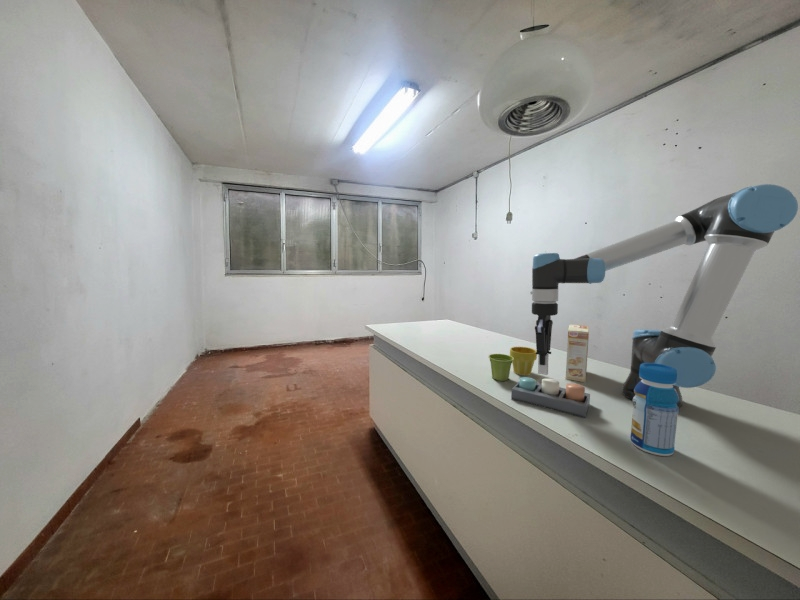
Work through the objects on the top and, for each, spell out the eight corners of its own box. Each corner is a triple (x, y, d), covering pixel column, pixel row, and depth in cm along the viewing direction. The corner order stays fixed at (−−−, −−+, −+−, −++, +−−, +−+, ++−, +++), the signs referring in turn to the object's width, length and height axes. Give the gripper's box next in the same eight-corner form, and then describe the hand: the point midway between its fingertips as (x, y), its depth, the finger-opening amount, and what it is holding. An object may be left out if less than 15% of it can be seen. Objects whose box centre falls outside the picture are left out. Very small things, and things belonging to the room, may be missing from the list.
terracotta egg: (585, 399, 93) (585, 385, 93) (582, 405, 89) (583, 390, 89) (566, 395, 96) (567, 382, 96) (564, 400, 92) (564, 386, 92)
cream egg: (560, 393, 97) (560, 380, 97) (556, 399, 93) (557, 385, 93) (543, 389, 100) (543, 377, 100) (539, 394, 97) (540, 381, 96)
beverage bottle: (662, 461, 67) (670, 375, 65) (621, 441, 75) (627, 364, 73) (682, 452, 70) (690, 369, 68) (641, 434, 78) (647, 359, 76)
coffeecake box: (586, 382, 113) (589, 332, 111) (564, 379, 117) (567, 330, 115) (586, 371, 126) (589, 325, 124) (566, 368, 129) (569, 323, 127)
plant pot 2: (540, 377, 119) (541, 353, 118) (514, 377, 119) (515, 353, 118) (529, 368, 130) (530, 346, 128) (505, 368, 130) (506, 346, 129)
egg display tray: (589, 404, 95) (590, 393, 95) (585, 418, 86) (585, 406, 86) (521, 388, 108) (521, 379, 108) (511, 399, 99) (511, 388, 99)
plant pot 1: (509, 374, 122) (510, 353, 121) (516, 383, 113) (516, 361, 112) (486, 373, 123) (486, 353, 122) (490, 382, 114) (491, 360, 113)
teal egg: (536, 391, 102) (537, 379, 101) (533, 396, 98) (533, 383, 97) (521, 388, 105) (522, 376, 104) (517, 393, 101) (517, 380, 100)
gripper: (537, 299, 103) (536, 366, 105) (526, 303, 93) (525, 377, 95) (561, 300, 98) (559, 370, 101) (552, 304, 88) (550, 382, 91)
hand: (543, 373), depth 98 cm, fingers closed
